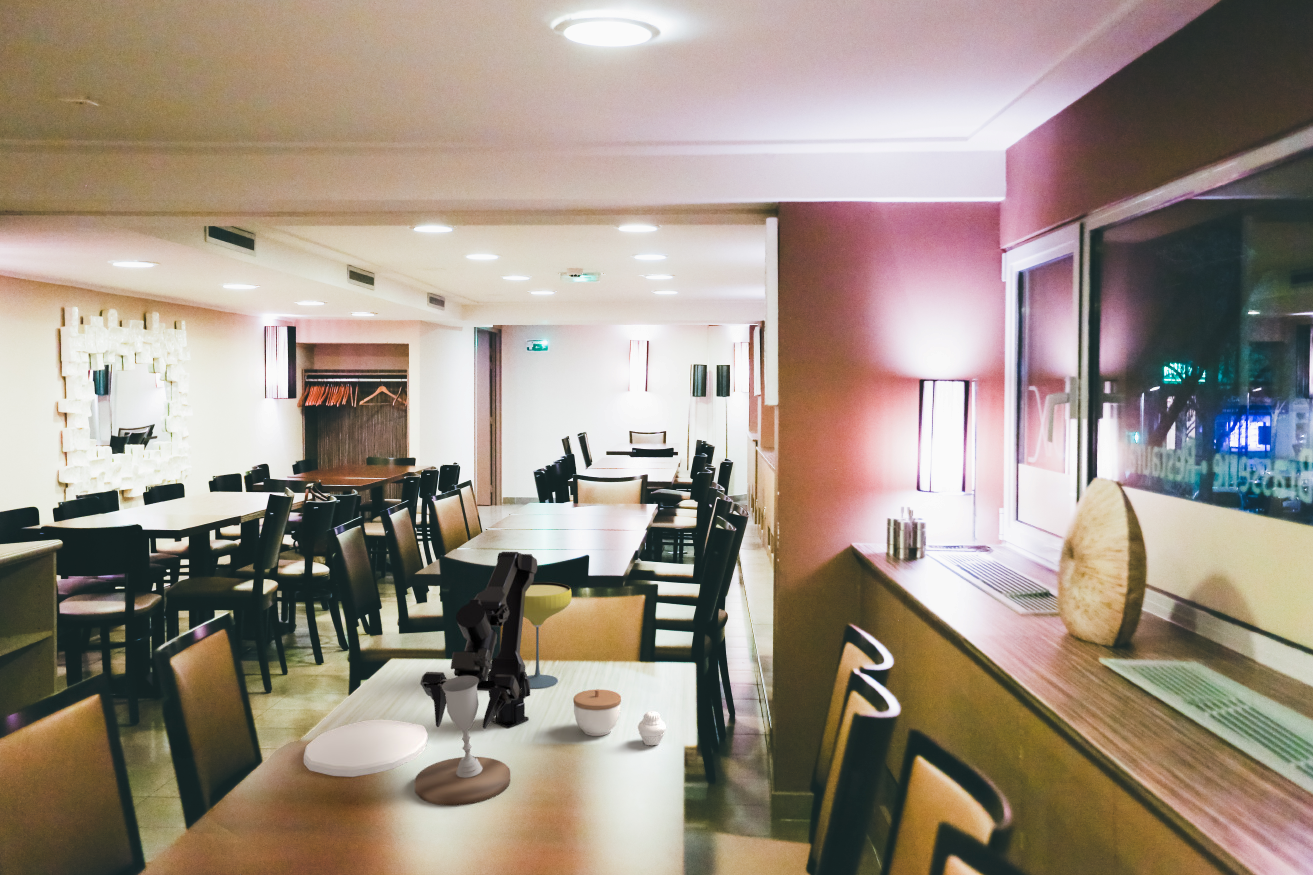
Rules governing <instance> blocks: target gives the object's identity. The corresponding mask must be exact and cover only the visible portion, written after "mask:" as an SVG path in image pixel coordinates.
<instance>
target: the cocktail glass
mask: <svg viewBox="0 0 1313 875" xmlns="http://www.w3.org/2000/svg"><path fill="white" fill-rule="evenodd" d="M572 594H573V593H572V589H571V587H570V586H569V585H567V584H563V583H558V582H548V581H540V582H539V581H537V582H536V581H535V582H534V581H533V583H532V584H531V585H530V587H529V588H528V589H527V591H526V594H525V604H524V614H523V618H525V619H527V620H528V621H529V622H530V623H531V624H532V626H533V627H535V630H536V633H535V634H536V635H535V636H536V638H535V639H536V641H535V642H536V643H535V644H536V645H535V647H536V648H535V654H536V655H535V672H534V674H531V675H527V676H528V679H529V681H530V690H533V689H535V690H536V689H545V688H546V689H547V688H550V687H553V686H555V685H557V683H558V681H559V679H558V678H557V677H555V676H553V675H550V674H549V675H548V674H541V670H540V653H539V652H540V651H539V649H540V648H539V645H540V644H539V642H540V641H539V639H540V638H539V631H540V630H539V629H540V628H539V627H541V626H543V624H544V622H546V620H547V619H549V618H551V617H552V616H554V615H556V614H558V613H560V612H562V611H563V610H565V609H566V608H567V607H568V606H569V605H570V603H571V601H572Z"/></svg>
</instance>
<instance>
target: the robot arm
mask: <svg viewBox="0 0 1313 875" xmlns="http://www.w3.org/2000/svg"><path fill="white" fill-rule="evenodd" d="M496 560H497V561H496V565H495V567H494V569H493V572H492V574H491V577H490V579H489V581H488V584H487V586H486V588H485V589H484V590H482V591H480V592H478V593H477V594H476V596H475V597H474V598H469V599H470V600H469V602H468V603H467V604H465V605H463V606H462V607H460V609H459V610H458V611H457V613H456V615H455V616H456V617H455V619H456V622H457V625H458V626H459V629H460V631H461V633H462V636H463V638H464V639H465V640H467V641H466V644H465V648H464V650H462V652H461V651H453V652H452V655H451V656H452V657H451V663H450V670H453V674H454V676H455V677H459V676H467V675H468V676H475V677H477V678H478V679H479V682H478V684H477V692H478V691H479V692H480V691H482V692H488V696H489V700H488V704H487V707H486V709H485V713H484V718H483V720H482V729H483V730H486V729H487V728H488V726H489V725H490V724H491V723H493V724H496V725H500V726H502V727H506V728H512V727H514V726H515V727H516V726H517V725H519V724H522V723H524V722H527V721H529V720H530V717H529V716H526V713H525V712H526V711H525V709H526V707H525V705H526V704H525V699H526V697H530V696H531V689H530V681H529V679H528V676H529V675H528V674H527V672H526V664H525V662H524V660H523V658H522V656H521V643H522V641H521V640H522V634H523V633H522V632H523V622H524V617H523V614H524V604H525V594H526V591H527V589H528V588H529V587H530V585H531V584H532V583H533V582H534V578H535V574H536V573H537V571H538V560H537V558H535V557H534V556H533V554H531V553H521V552H518V551H501V552H498V555H497V559H496ZM493 627H502V628H501V630H502V631H501V639H500V646H499V647H500V649H499V652H498V654H497V655H496V657H493V654H494V650H495V646H496V645H497V638H498V634H497V632H496V630H495V629H494V628H493ZM450 679H451V678H447V676H446V674H445V673H444V672H442V671H440V672H439V671H426V672H425V673H424V674H422V676H421V679H420V686H421V688H422V689H423V691H424V692H425V694H426V696H428V697H429V698H431V700H432V701H433V706H434V718H435V719H434V720H435V726H436V728H439V727H440V726H441V723H442V722H443V717H444V714H445V710H446V707H447V704H446V694H445V692H444V690H443V689H442V685H443V684H444V683H445V682H446V681H448V680H450Z"/></svg>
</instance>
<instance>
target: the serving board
mask: <svg viewBox="0 0 1313 875" xmlns="http://www.w3.org/2000/svg"><path fill="white" fill-rule="evenodd" d="M464 757H465V756H460V757H454V758H448V759H445V760H441V761H438V762H436V763H433V764H431V765H429V766H427V767H424V768H423V769H422V770H421V771H419V773H417V775H415V776H416V777H415V779H414V792H415V794H416V795H417V796H418V798H419V799H421V800H423V801H425V802H428V803H430V804H434V805H439V806H440V805H441V806H464V805H470V804H471V805H472V804H477V802H478V803H481V802H484V801H487V799H488V800H490V799H493V798H494V797H497V796H499V795H500V794H502V793H503V792H504V791H505V790H507V789H508V787H509V785H510V784H511V769H510V767H509V766H508V765H507V764H506V763H504V762H502V761H501V760H498V759H495V758H491V757H485V756H475V757H476V758H477V759H478V761H479V762H480V765H481V766H482V768H483V769H482V771H481V772H480V773H479V774H477V775H475V776H473V777H467V778H463V777H459V776H458V775H457V774H456V772H457V770H458V766H459V762H460V761H461V759H462V758H464ZM496 795H497V796H496ZM492 797H493V798H492Z"/></svg>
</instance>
